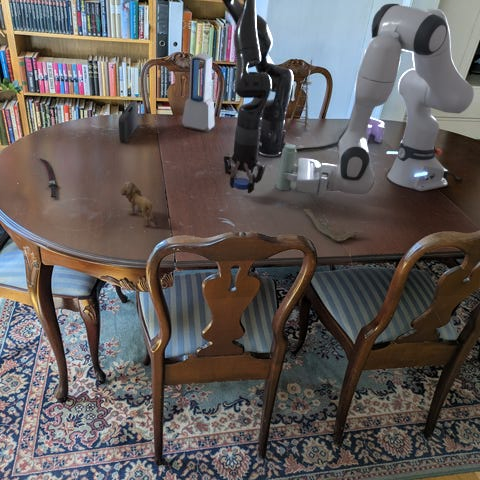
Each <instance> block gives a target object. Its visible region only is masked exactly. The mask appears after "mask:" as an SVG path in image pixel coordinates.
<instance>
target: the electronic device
mask: <svg viewBox="0 0 480 480" xmlns="http://www.w3.org/2000/svg"><path fill="white" fill-rule="evenodd" d="M200 61H202V62H203V65H202V66H203V67H202V69H203V70H202V89H201V90H202V91H201V96H200V95H199V83H200V82H199V80H200ZM212 73H213V56H211V55H209V54H207V53H199V54H196V55H193V56H191V57H190V68H189V97H188V98H187V99H186V100H185V101H184V106H183V107H184V108H183V114H182V118H181V123H182V125H183V127H184V128H185V129H191V130H196V131H200V132H204V133H208V132H209V131H210V130H212V129H213V128H214V127H215V124H216V123H215V102H214V101H213V99H212V98H211V92H212V91H211V90H212Z"/></svg>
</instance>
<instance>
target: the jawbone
mask: <svg viewBox="0 0 480 480" xmlns="http://www.w3.org/2000/svg"><path fill="white" fill-rule="evenodd" d="M303 211H304V212H305V214H306V215H308V216H309V217H310V219H311V220H312V222H313V224H314V226H315V227H316V228H317V230H318V231H319V232H320V233H322V234H323V235H325V236H327V237H329V238H330V239H332V240H333V241H334V242H337V243H338V242H339V243H341V242H344V241H346V240H347V239H349V238H352V239H356V238H357V236H358V233H359V234H362V233H364V231H363V230H361V229H359V228H349V229H347V230H343V231H340V230H339V231H338V230H335V229H334V228H333V227H331V226H329V225H328V224H327V223H325V221H324V220H323V219H321V218H319V219H318V218H317V217H316V216H315V215H314V214H313V212H312V211H311V210H310V209H309V208H307V209H306V208H305V209H303Z"/></svg>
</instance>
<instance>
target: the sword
mask: <svg viewBox="0 0 480 480" xmlns="http://www.w3.org/2000/svg"><path fill="white" fill-rule="evenodd" d="M40 161H41V162H42V163H43V165H44V166H45V169H46V173H47V176H48V185H47V188H50V198H56V197H57V189H56V188H57V187H59V185H58V184H57V183H56V180H55V176H54V172H53V169H52V167H51V164H50V163H49V161H48V160H46V159H43V158H40Z"/></svg>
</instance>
